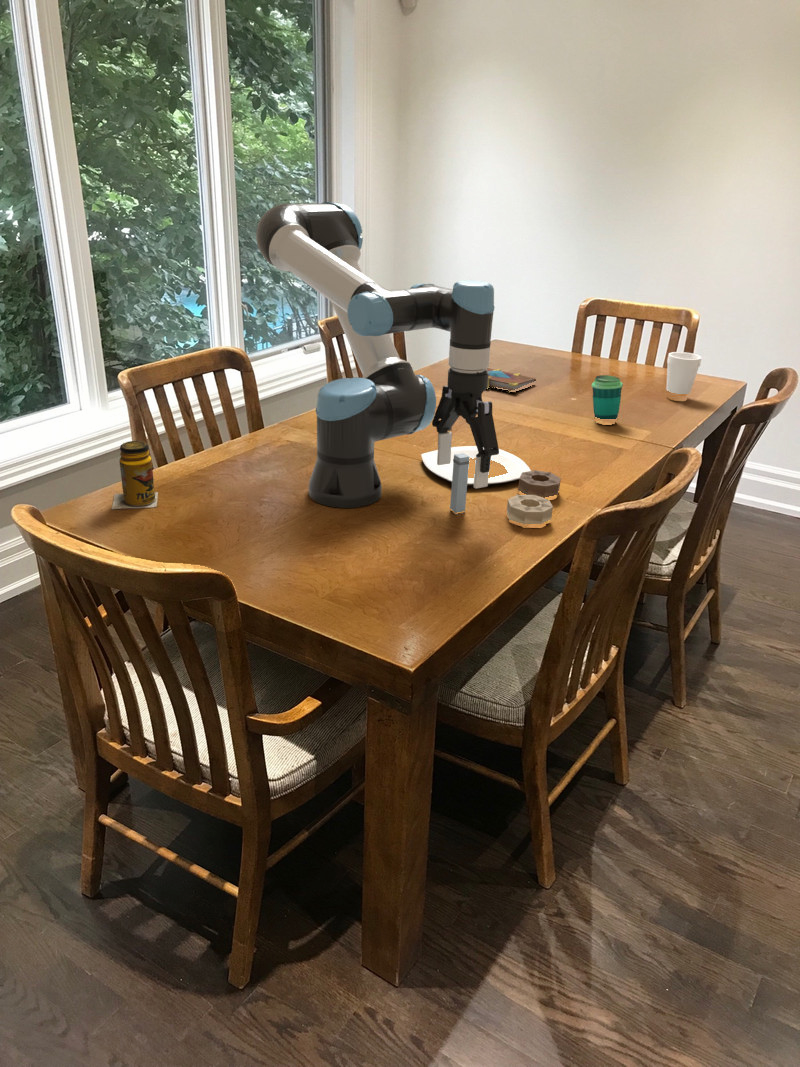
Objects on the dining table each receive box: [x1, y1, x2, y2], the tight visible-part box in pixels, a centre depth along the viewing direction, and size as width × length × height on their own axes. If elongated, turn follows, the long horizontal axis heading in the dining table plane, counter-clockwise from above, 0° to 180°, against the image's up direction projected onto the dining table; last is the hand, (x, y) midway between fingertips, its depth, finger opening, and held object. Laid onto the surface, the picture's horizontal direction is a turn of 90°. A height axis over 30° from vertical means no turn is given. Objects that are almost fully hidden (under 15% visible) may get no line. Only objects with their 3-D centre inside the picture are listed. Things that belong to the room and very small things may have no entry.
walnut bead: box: [517, 469, 562, 498], centre depth 175 cm, size 8×8×4 cm
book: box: [487, 367, 537, 391], centre depth 253 cm, size 16×25×5 cm, turn 54°
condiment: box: [111, 440, 159, 510], centre depth 161 cm, size 7×8×12 cm
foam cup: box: [665, 351, 702, 394], centre depth 243 cm, size 10×9×13 cm
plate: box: [420, 445, 532, 486], centre depth 186 cm, size 23×23×2 cm
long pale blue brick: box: [449, 453, 469, 513], centre depth 163 cm, size 2×2×12 cm
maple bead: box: [506, 494, 554, 524], centre depth 162 cm, size 8×8×4 cm
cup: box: [591, 374, 624, 419], centre depth 220 cm, size 8×8×12 cm
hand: (461, 475), depth 162 cm, fingers open, 13 cm apart
